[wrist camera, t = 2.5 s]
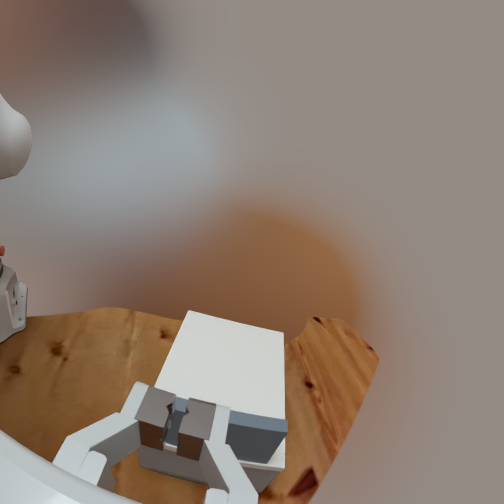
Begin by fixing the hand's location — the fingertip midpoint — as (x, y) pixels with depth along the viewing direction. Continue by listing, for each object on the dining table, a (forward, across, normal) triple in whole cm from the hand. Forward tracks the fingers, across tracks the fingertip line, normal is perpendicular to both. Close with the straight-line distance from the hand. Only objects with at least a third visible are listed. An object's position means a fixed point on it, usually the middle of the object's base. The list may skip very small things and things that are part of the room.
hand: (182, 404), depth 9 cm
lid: (+21, -2, +21) cm, 29 cm away
